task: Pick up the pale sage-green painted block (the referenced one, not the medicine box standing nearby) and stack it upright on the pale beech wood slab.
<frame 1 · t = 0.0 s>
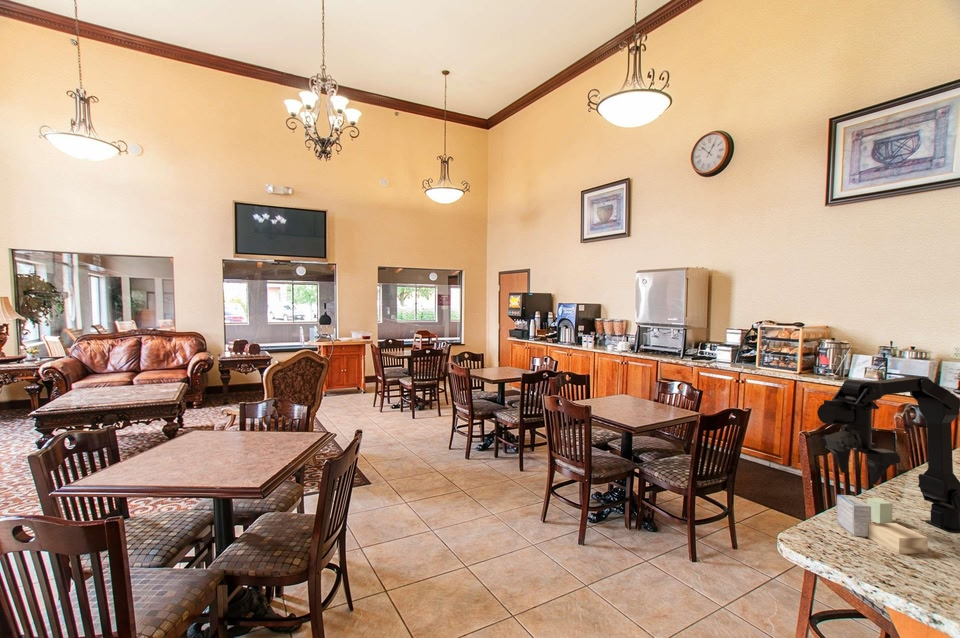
hand: (857, 478, 124), 15 cm above the table, tool pointing down, fingers open, 9 cm apart
sage block: (879, 520, 130), on the table
medicine box: (853, 531, 124), on the table
beech slab: (897, 545, 116), on the table
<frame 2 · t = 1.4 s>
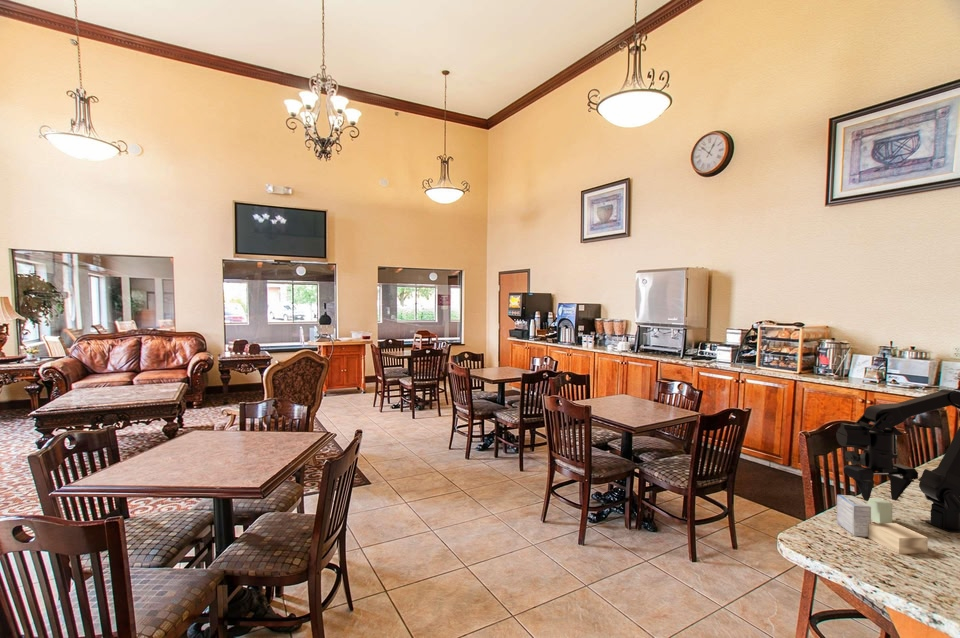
hand: (880, 500, 130), 6 cm above the table, tool pointing down, fingers open, 9 cm apart
nothing on the table moved.
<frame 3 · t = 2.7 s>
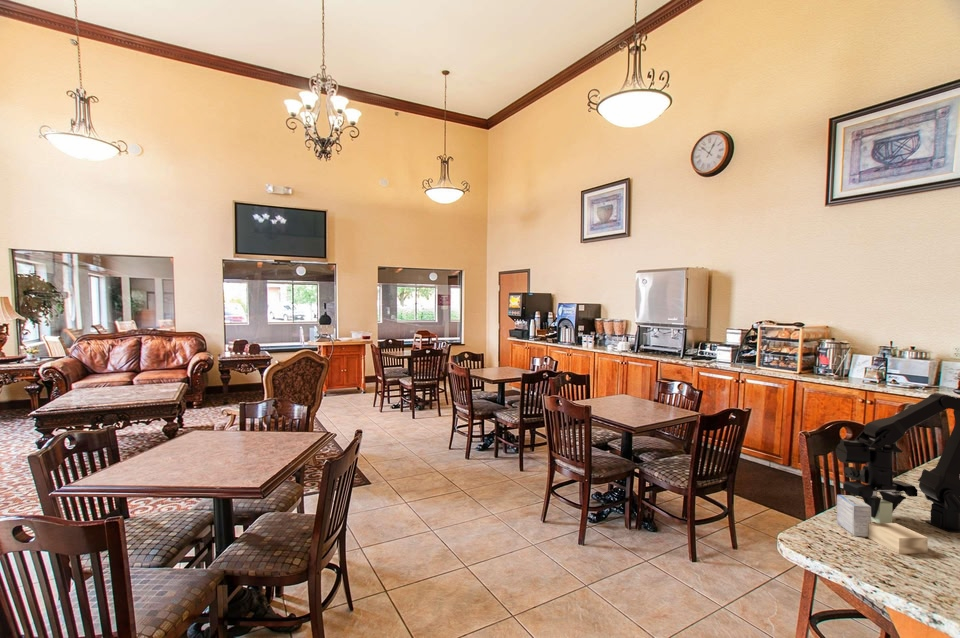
hand: (879, 517, 130), 1 cm above the table, tool pointing down, fingers closed on sage block, 4 cm apart
sage block: (879, 520, 130), on the table, touching gripper
everything else where it was.
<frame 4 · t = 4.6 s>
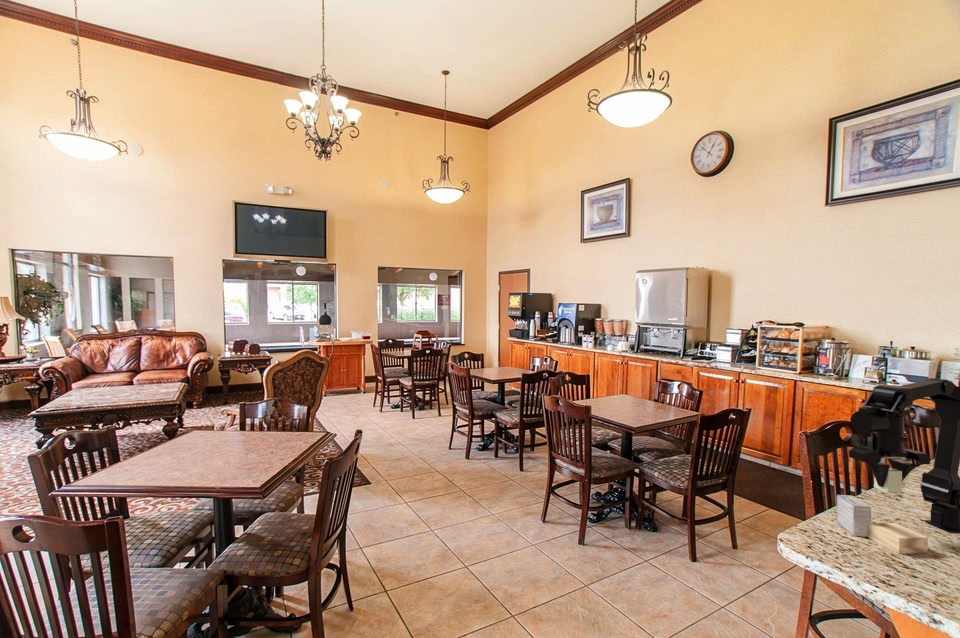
hand: (887, 486, 122), 13 cm above the table, tool pointing down, fingers closed on sage block, 4 cm apart
sage block: (887, 490, 122), point 12 cm above the table, touching gripper
everything else where it was.
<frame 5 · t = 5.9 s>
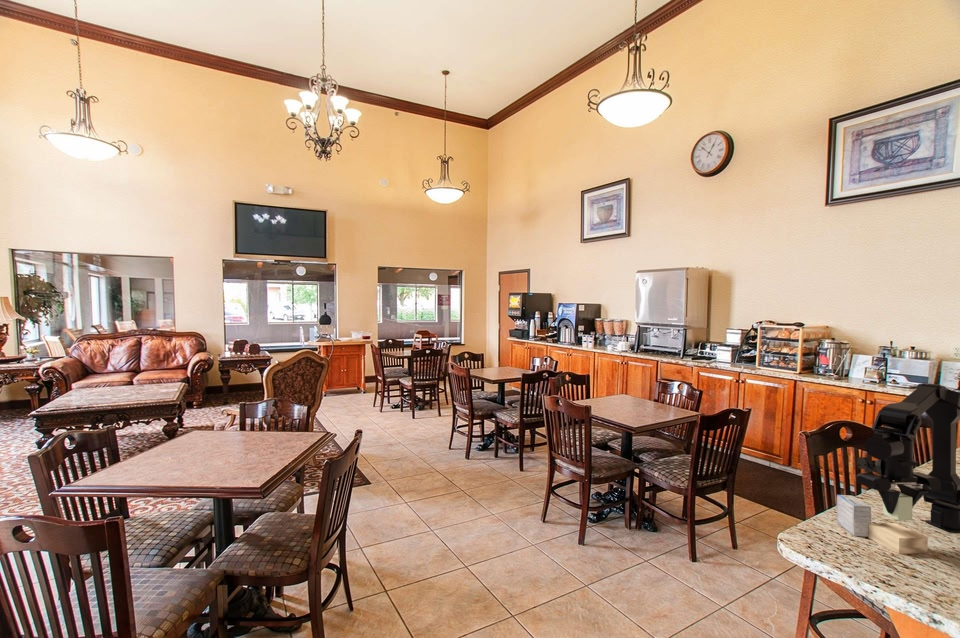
hand: (897, 513, 116), 9 cm above the table, tool pointing down, fingers closed on sage block, 4 cm apart
sage block: (897, 516, 116), point 8 cm above the table, touching gripper
everything else where it was.
when the fingers open (6 cm above the table, at t = 6.7 s): sage block stays where it is, resting on beech slab.
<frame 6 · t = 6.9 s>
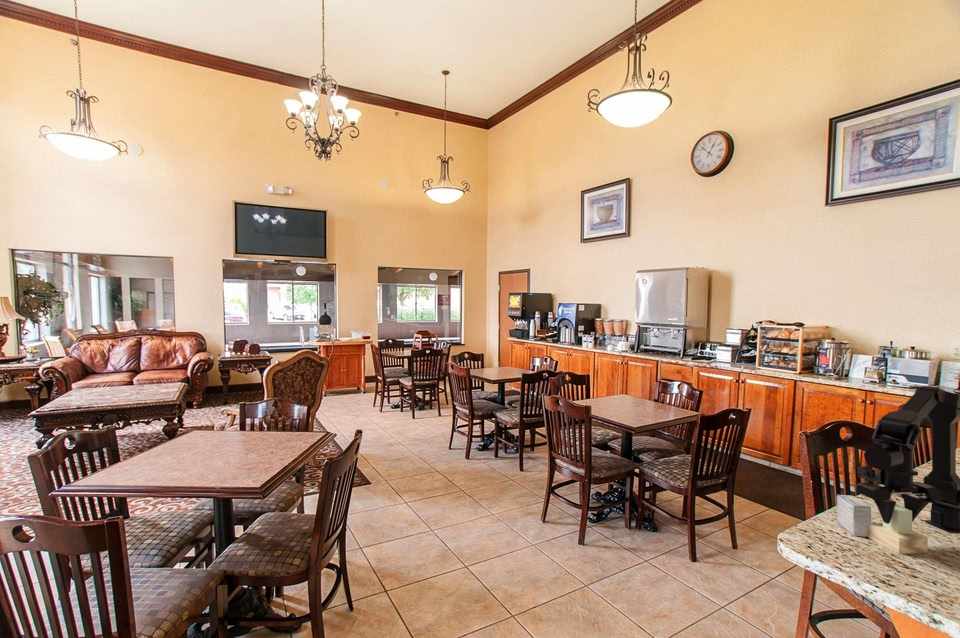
hand: (897, 522, 116), 6 cm above the table, tool pointing down, fingers open, 6 cm apart
sage block: (897, 530, 116), point 4 cm above the table, touching beech slab
everything else where it was.
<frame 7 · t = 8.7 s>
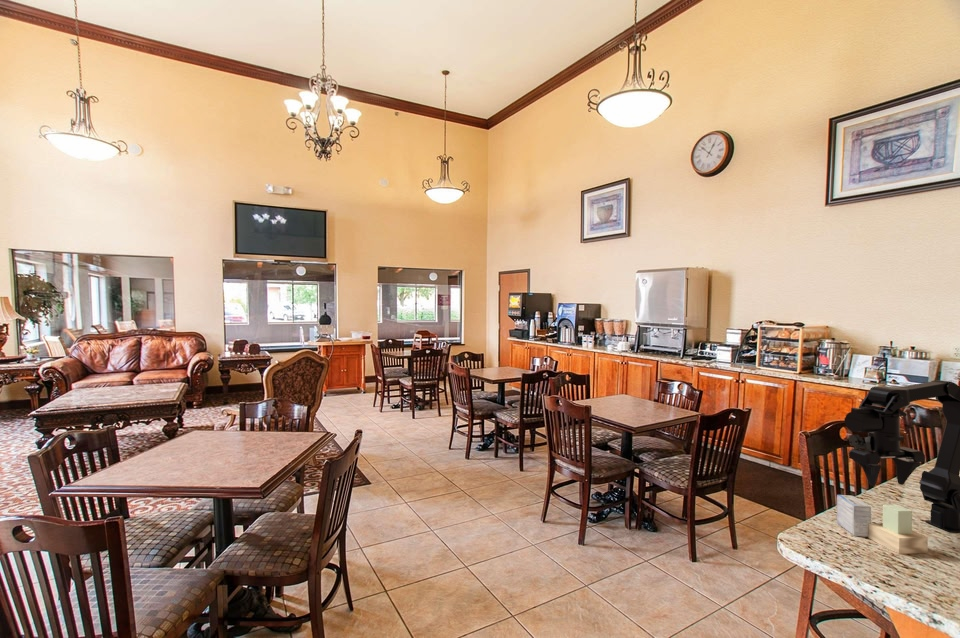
hand: (886, 485, 125), 13 cm above the table, tool pointing down, fingers open, 9 cm apart
nothing on the table moved.
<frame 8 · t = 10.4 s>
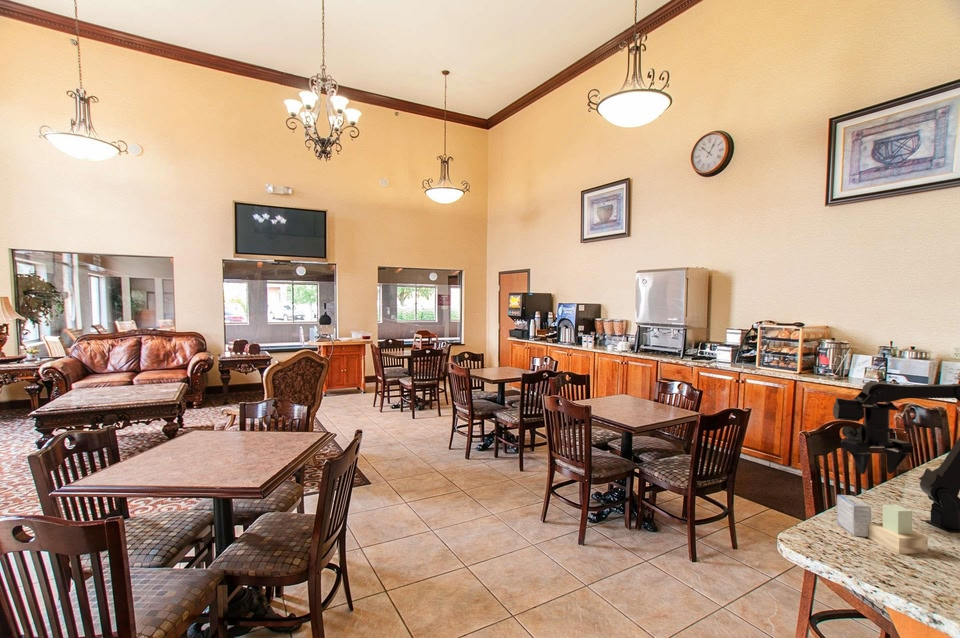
hand: (876, 473, 133), 13 cm above the table, tool pointing down, fingers open, 9 cm apart
nothing on the table moved.
at the end: sage block inside the target area on the beech slab (0.1 cm from its centre), point 4.0 cm above the beech slab's base; sage block tilted 0°; the gripper is holding nothing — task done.
